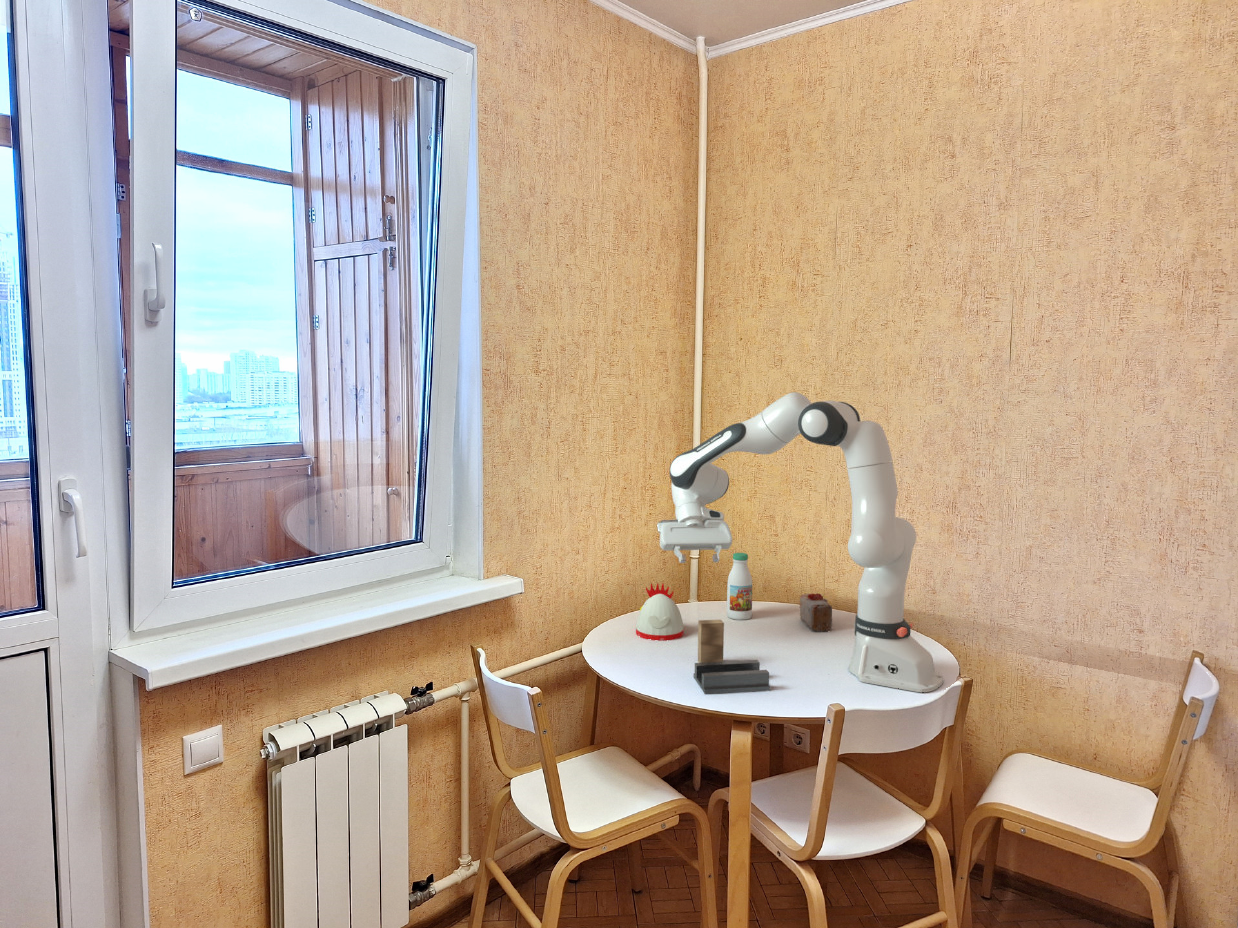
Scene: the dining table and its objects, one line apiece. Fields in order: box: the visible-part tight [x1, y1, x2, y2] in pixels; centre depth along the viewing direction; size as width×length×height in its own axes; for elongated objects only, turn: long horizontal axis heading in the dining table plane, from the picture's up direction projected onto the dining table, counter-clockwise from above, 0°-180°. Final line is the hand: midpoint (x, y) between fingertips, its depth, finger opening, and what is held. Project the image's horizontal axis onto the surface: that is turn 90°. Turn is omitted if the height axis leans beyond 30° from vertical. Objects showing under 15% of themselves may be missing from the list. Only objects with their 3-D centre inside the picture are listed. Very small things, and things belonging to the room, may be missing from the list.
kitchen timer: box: [635, 582, 685, 642], centre depth 234 cm, size 14×14×15 cm
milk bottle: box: [726, 552, 753, 621], centre depth 250 cm, size 8×8×20 cm
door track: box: [693, 659, 771, 695], centre depth 195 cm, size 16×11×4 cm
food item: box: [799, 593, 833, 633], centre depth 242 cm, size 14×8×10 cm, turn 5°
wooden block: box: [697, 619, 725, 663], centre depth 209 cm, size 6×3×11 cm, turn 99°
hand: (699, 561), depth 220 cm, fingers open, 8 cm apart
